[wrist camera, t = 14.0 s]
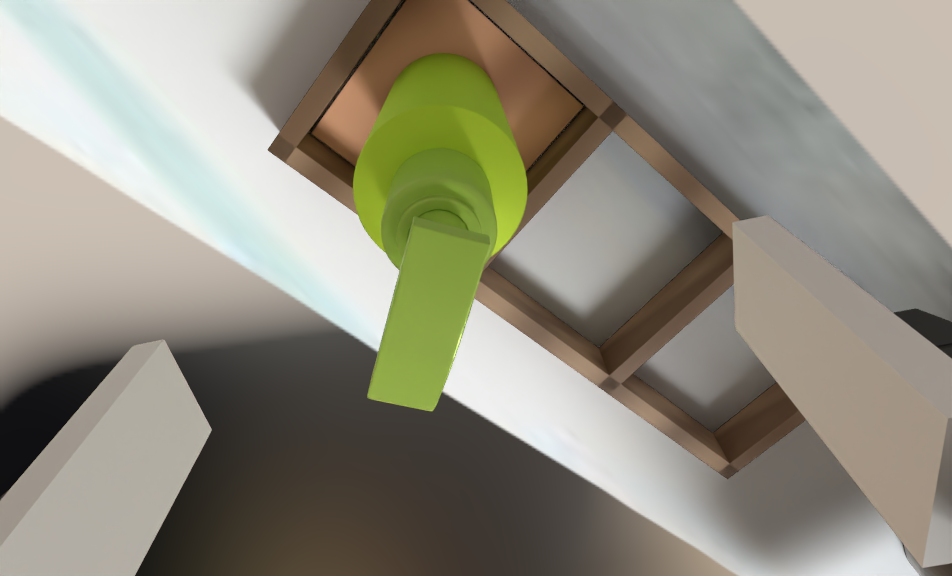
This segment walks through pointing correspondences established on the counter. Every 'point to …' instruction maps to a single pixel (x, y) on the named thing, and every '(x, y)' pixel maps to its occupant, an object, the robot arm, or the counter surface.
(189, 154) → the counter surface
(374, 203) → the soap dispenser
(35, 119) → the counter surface
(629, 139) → the pocket rack
